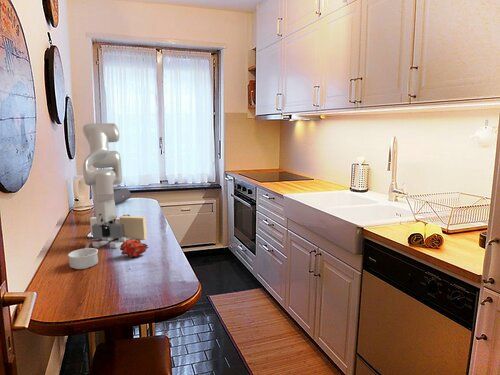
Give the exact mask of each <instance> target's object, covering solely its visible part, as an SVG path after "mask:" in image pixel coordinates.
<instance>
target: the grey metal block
mask: <svg viewBox="0 0 500 375" xmlns="http://www.w3.org/2000/svg"><path fill="white" fill-rule="evenodd" d="M103 224H104V225H105V223H103ZM107 228H108V229H109V237H103V236H102V229H101V227H100V226H99V225H98V223H96V224H94V225H92V234H93V237H92V238H93V239H94V238H95V239H102V238H115V239H119V238H122V237H123V236H125V233H124V224H116V223H108V227H107Z"/></svg>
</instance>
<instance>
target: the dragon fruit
mask: <svg viewBox="0 0 500 375" xmlns="http://www.w3.org/2000/svg"><path fill="white" fill-rule="evenodd" d="M119 249H120V251H121V253H120V254H121V255H124V256H125V255H126V256H127V258H129V257H130V259H132V258H133V257H137V258H140V257H143V256H144V254H143V253H146V251H147V249H149V246H148V244H147V243H145V242H141V239H130V240H126V241H125V242H123V244H122V245H121V246H119Z"/></svg>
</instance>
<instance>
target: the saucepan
mask: <svg viewBox="0 0 500 375" xmlns="http://www.w3.org/2000/svg"><path fill="white" fill-rule="evenodd" d="M90 244H91V243H90V241H87V242H86V244H85V247H84V248H80V249H79V248H78V249H76V250H72V251H70V252H68V254H67V257H68V261H69V267H70V268H72V269H75V270H86V269H89V267H90V268H93V267H94V266H95V265H96V264H98V263H99V255H98V252H99V250H98V248H96V247H89V246H90Z"/></svg>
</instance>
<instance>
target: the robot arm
mask: <svg viewBox="0 0 500 375" xmlns="http://www.w3.org/2000/svg"><path fill="white" fill-rule="evenodd" d="M82 133H83V135H84V137H85V139H86V140H87V142H88V145H89V154H88V155H87V156H86V157H85V159H84V161H83V163H82V176H83V181H84V184H85V185H86V186H89V187H91V189H92V190H91V191H92V196H93V197H92V198H93V208H94V217H96V220H97V222H98V225H99V226H100V227H101V229H102V236H103V237H109V229H108V228H107V227H108V223H115V220H116V218H118V217H117V209H116V208H117V207H116V206H115V201H114V186H116V185H120V184H121V183H122V181H123V172H122V171H123V170H122V160H121V159H122V158H121V155H120V153H119V151H116V150H110V149H109V143H117V142H119V141H120V131H119V127H118V126H117V125H116V124H115V123H113V122H112V123H111V122H110V123H109V122H105V123H102V122H101V123H100V122H99V123H98V122H94V123H86V124H83V126H82ZM91 166H92V167H93V168H95V169H90V167H91ZM105 168H106V169H105ZM103 221H104V222H103ZM103 223H105V225H104V224H103Z"/></svg>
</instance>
